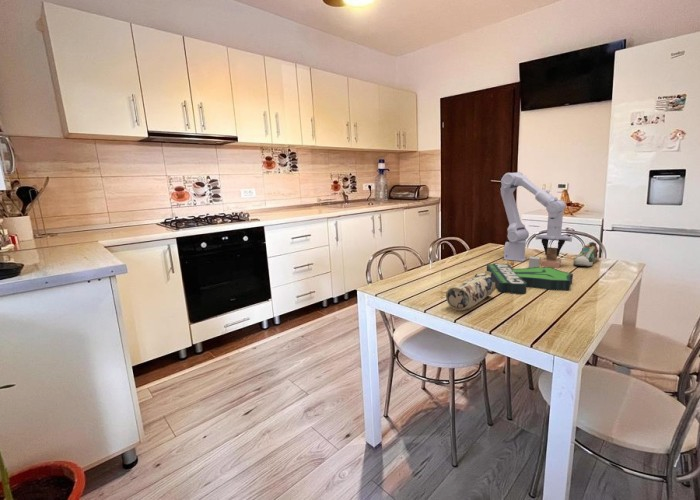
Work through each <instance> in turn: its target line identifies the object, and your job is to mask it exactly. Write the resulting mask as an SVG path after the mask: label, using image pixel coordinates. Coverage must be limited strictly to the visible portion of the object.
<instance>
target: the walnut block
mask: <svg viewBox="0 0 700 500" xmlns="http://www.w3.org/2000/svg"><path fill="white" fill-rule="evenodd" d="M557 250H558V247H550V246H548V248H547V255H545V256H546V257H545V258H546V259H547V260H556V259H558V256H557Z"/></svg>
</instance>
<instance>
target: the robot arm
mask: <svg viewBox="0 0 700 500" xmlns="http://www.w3.org/2000/svg"><path fill="white" fill-rule="evenodd" d="M500 183H501V187H500V196H501V199H502V202H503V206H504V209H505V213H506V217H507V222H508V227H507V229H506V230H507V235H506V237H507V240H508V241H505V244H504V248H503V249H504V253H503V260H505V261H515V262H525V261H526V259H527V257H526V256H525V255H526V254H525V253H526V242H527V240H528V239H529V237H530V233H529V231H528V229H527V228H526V226H525V224H524V223H523V222H522V220H521V217H520V214H519V211H518V210H519V209H518V207H517V202H516V200H515V194H514V192H515V190H516V189H517V188H518V187H523V188H524V189H526V190H527V191H528V192H529V193H532V195H534V198H535V200H536V201H537V202H538V203H540V204H541V205H542V206H544V207H545V209H546V212H547V213H548V214H547V216H548V217H547V228H546V234H536V235H535V240H541V244H542V246H543V249H544V255H545V256H547V248H548V247H549V241H558V242H557V248H558V250H557V257H559V256H560V252H561V250H562V248H563V247H564V245H565V243H566V242H569V243H570V242H572V241H573V237H572V236H568V235H567V236H565V235H562V227H563V219H564V218H563V217H564V211H565V210H566V208H567V204H566V202H565V201H564V200H562V199H559V198H558V197H557V196H554V195H553V194H551V193H550V190H548V189H540V187H538V186H537V185H536V184H535V183H534V182H533V181H532V180H531V179H529V177H527V175H524V174H523V173H522V172H520V171H517V172H506V173H505V174H504V175H503V176H502V178H501V179H500Z"/></svg>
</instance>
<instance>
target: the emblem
mask: <svg viewBox="0 0 700 500" xmlns="http://www.w3.org/2000/svg"><path fill="white" fill-rule="evenodd" d="M486 271H488V272H491V277H492V278H493V279H494V281H495V288H496V289H497V291H498V292H499V293H502V294H503V293H504V294H511V295H525V294H527V288H533V289H542V290H543V289H544V290H549V291H570V290H571V285H572V284H573V278H574V273H572V272H568V271H562V270H560V269H558V268H552V267H542V266H540V267H533V268H529V267H525V268H513V267H512V266H511V265H510V264H508V263H506V264H505V263H487V264H486Z"/></svg>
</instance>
